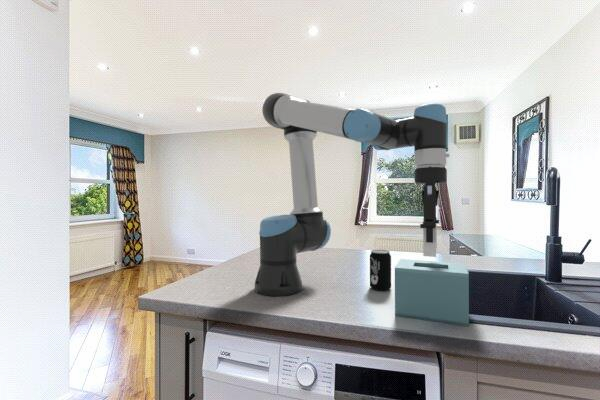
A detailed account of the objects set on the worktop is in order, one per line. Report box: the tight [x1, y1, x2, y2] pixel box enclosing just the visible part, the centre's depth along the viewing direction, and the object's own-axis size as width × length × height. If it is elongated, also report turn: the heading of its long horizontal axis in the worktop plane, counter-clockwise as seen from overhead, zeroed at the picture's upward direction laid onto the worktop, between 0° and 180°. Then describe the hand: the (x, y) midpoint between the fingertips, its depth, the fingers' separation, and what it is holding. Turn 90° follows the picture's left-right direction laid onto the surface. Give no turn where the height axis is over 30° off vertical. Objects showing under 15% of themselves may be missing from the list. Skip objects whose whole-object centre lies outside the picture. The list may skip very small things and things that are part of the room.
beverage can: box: [369, 249, 392, 292], centre depth 99 cm, size 7×7×12 cm
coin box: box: [394, 258, 470, 327], centre depth 78 cm, size 16×12×12 cm
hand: (430, 251), depth 78 cm, fingers open, 13 cm apart
